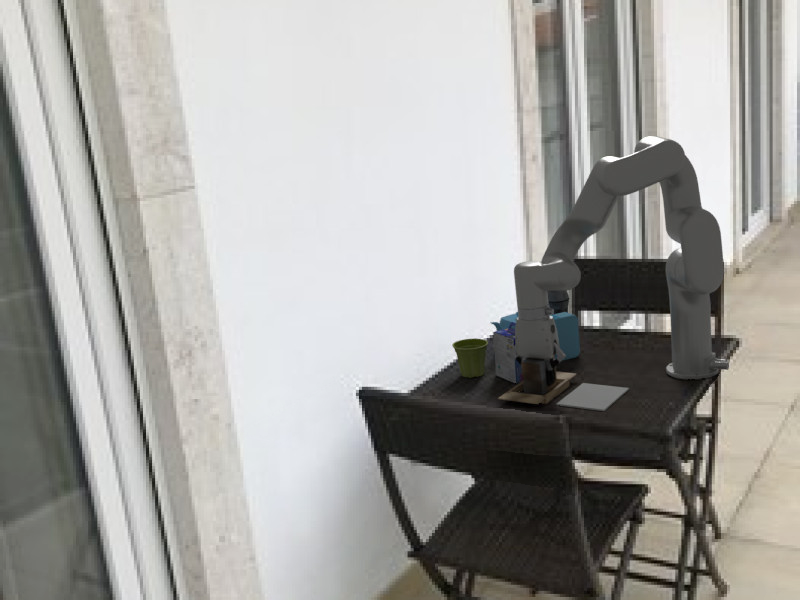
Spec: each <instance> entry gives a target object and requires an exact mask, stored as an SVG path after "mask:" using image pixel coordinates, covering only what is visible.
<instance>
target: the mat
mask: <svg viewBox="0 0 800 600" xmlns="http://www.w3.org/2000/svg"><path fill="white" fill-rule="evenodd" d="M629 390H630V388H629V387H625V386H623V387H621V386H614V385H605V384H596V383H595V384H594V383H587V382H582V383H581V384H580V385H578V386H577V387H576V388H575V389H574V390H572V391H571V392H569V393H568V394H567V395H566V396H564V397H563V398H562V399H561V400H559V401H558V402H556V406H559V405H560V406H561V407H569V408H575V409H576V408H577V409H583V410H584V409H585V410H590V411H591V410H592V411H601V412H605V411H606V410H607V409H609V408H610V407H611V406H612V405H613V404H614V403H615V402H617V401H618V400H619V399H621V397H622V396H624V394H626V393H627V392H628V391H629Z"/></svg>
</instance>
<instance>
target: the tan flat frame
mask: <svg viewBox="0 0 800 600" xmlns="http://www.w3.org/2000/svg"><path fill="white" fill-rule="evenodd" d="M576 376H577V373H576V372H575V373H573V372H564V371H556V377H557V385H556V386H554V387H553V388H552V389H550V390H549V391H548V392H547V393H546V394H544V395H534V394H525V393H524V392H522V391H521V390H523V389H524V387H523V381H522V382H520V383H517V384H516V385H515V386H513V387H512V388H510V389H509V390H508V391H506V392H505V393H503V394H502V395H500V396H499V397H498V398H497V399H498V400H500V401H501V400H503V401H510V402H511V401H512V402H517V403H526V404H533V405H540V404H539V403H542V404H541V405H543V404H544V405H545V404H546V405H547V404H549V402H551V401H552V400H554V399H555V398H556V397H557V396H559V395H560V394H561V393H563V392H564V391H566V390H567V389H568V388H569V387H570V386H571V385H570V380H572V379H574V378H575V377H576ZM519 391H521V392H520V393H518V392H519ZM523 391H524V390H523ZM554 397H555V398H554Z"/></svg>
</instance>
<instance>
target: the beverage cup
mask: <svg viewBox="0 0 800 600" xmlns="http://www.w3.org/2000/svg"><path fill="white" fill-rule="evenodd" d="M547 293H548V304H549V308H551V309H554V314H558V313H562V312H567V313H569V305H570V296H569V293H568V290H567V291H547ZM550 315H553V314H550Z"/></svg>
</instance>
